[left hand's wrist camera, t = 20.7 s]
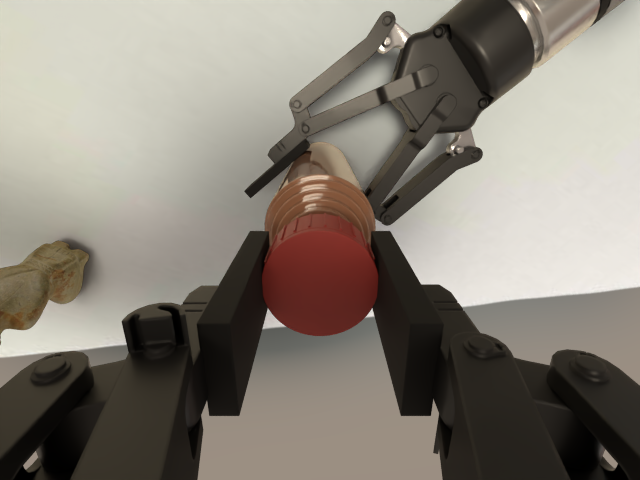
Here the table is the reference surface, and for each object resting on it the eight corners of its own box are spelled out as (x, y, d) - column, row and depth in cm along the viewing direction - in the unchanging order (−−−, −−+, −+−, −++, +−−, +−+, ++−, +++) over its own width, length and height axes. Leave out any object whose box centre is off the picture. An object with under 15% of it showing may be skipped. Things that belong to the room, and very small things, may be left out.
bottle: (303, 132, 35) (270, 176, 12) (356, 154, 36) (425, 236, 12) (284, 186, 37) (223, 316, 14) (335, 206, 38) (360, 360, 14)
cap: (383, 292, 15) (392, 320, 13) (287, 318, 15) (283, 349, 13) (356, 198, 13) (362, 213, 12) (252, 230, 14) (241, 249, 12)
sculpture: (35, 277, 40) (-118, 367, 26) (54, 226, 38) (-101, 294, 24) (84, 301, 41) (-37, 399, 27) (106, 253, 39) (-14, 333, 25)
